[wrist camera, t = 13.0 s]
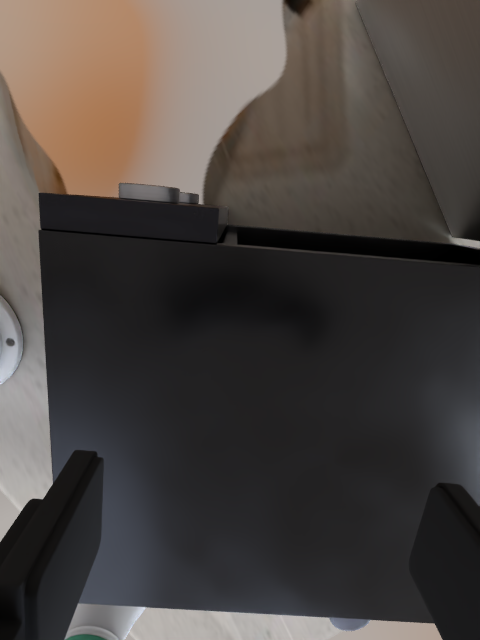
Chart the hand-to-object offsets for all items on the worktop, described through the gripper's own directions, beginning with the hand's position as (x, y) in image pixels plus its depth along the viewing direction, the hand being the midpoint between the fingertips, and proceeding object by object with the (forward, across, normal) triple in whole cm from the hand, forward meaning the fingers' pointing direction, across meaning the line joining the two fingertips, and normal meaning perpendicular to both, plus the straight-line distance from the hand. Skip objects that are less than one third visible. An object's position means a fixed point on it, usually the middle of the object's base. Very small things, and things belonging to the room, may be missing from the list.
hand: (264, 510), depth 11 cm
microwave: (+29, -5, +3) cm, 30 cm away
